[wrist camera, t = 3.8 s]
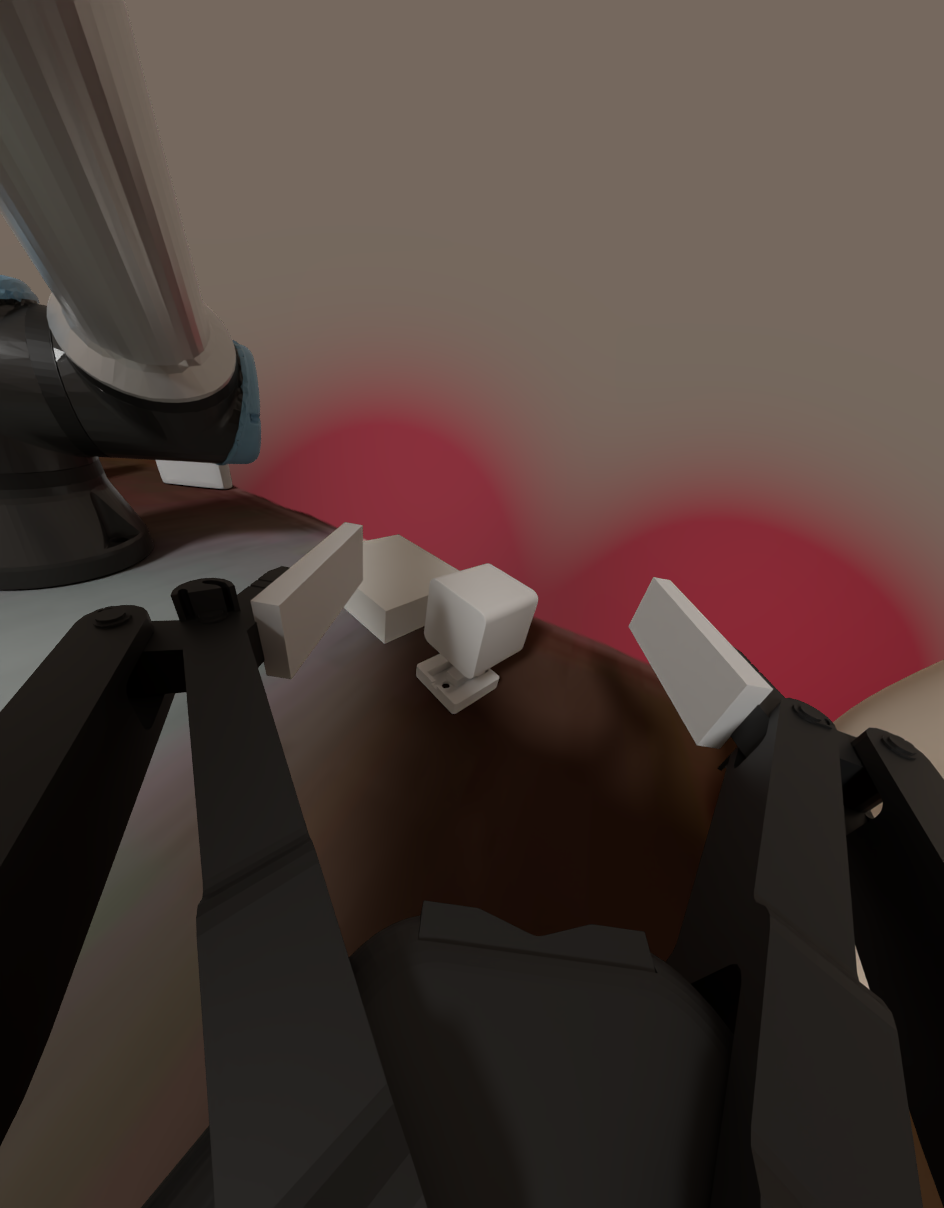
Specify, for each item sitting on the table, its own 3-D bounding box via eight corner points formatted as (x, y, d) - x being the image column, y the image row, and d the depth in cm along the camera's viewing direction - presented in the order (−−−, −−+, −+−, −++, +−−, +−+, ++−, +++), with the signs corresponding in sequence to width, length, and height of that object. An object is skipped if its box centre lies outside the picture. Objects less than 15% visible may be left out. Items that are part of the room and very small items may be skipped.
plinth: (315, 582, 40) (312, 551, 38) (397, 560, 49) (398, 534, 46) (384, 644, 33) (385, 611, 31) (466, 606, 42) (472, 578, 39)
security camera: (511, 683, 32) (541, 594, 27) (456, 718, 27) (478, 620, 22) (467, 645, 35) (485, 560, 30) (411, 672, 31) (421, 577, 26)
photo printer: (157, 484, 57) (130, 400, 50) (172, 477, 60) (148, 398, 54) (226, 492, 59) (209, 412, 53) (237, 485, 63) (221, 410, 56)
